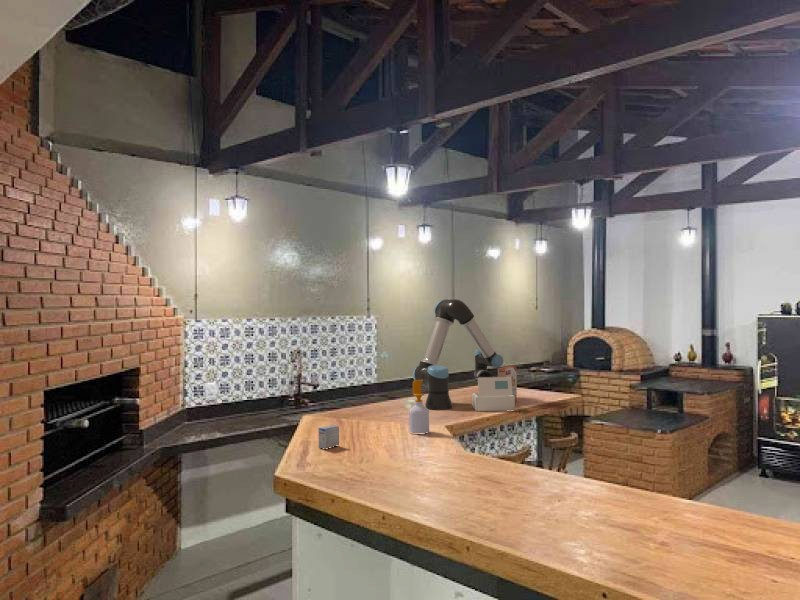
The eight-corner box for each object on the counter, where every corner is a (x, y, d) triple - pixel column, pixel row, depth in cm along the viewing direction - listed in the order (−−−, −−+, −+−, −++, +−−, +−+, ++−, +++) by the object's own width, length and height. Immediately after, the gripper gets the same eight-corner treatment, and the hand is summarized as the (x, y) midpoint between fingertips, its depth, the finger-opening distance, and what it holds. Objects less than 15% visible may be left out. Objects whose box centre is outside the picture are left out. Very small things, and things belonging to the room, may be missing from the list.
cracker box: (506, 404, 335) (506, 368, 335) (497, 403, 338) (496, 368, 339) (517, 401, 346) (517, 366, 346) (508, 400, 350) (507, 365, 350)
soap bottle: (412, 435, 261) (412, 381, 261) (407, 431, 270) (406, 378, 270) (431, 434, 263) (430, 380, 263) (425, 429, 272) (424, 377, 272)
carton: (476, 411, 315) (476, 396, 315) (472, 406, 331) (471, 392, 332) (515, 410, 315) (515, 396, 315) (509, 405, 332) (508, 391, 332)
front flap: (478, 396, 315) (478, 395, 314) (477, 377, 317) (477, 377, 317) (512, 395, 315) (512, 395, 314) (511, 377, 318) (511, 376, 317)
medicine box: (332, 444, 246) (331, 424, 246) (339, 446, 243) (339, 425, 243) (318, 448, 240) (318, 427, 240) (325, 450, 237) (325, 429, 237)
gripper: (494, 382, 350) (503, 388, 326) (473, 383, 349) (480, 389, 326) (494, 370, 350) (502, 375, 326) (473, 370, 349) (479, 375, 326)
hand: (491, 382), depth 326 cm, fingers closed
